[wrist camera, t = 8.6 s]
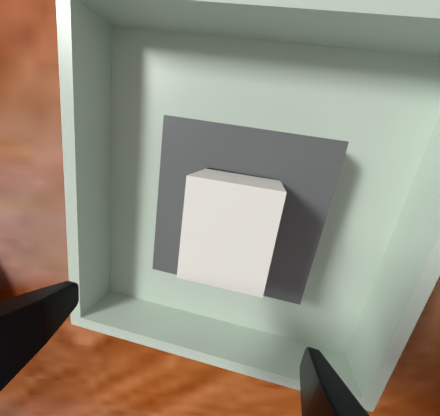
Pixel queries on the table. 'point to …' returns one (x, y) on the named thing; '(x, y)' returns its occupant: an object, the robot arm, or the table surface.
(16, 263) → the table surface
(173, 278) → the walled box
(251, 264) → the block
